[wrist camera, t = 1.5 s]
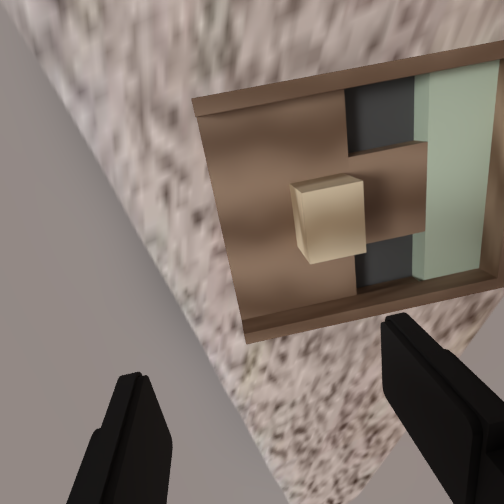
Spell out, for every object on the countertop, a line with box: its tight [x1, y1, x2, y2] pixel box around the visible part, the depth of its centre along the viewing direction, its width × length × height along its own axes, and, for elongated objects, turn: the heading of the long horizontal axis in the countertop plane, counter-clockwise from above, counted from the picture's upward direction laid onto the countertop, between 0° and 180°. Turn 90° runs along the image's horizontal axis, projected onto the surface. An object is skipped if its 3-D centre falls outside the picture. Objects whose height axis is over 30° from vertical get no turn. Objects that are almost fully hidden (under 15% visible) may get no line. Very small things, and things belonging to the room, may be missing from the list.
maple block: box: [289, 173, 366, 264], centre depth 24 cm, size 5×4×4 cm
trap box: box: [192, 40, 504, 344], centre depth 25 cm, size 18×22×4 cm
